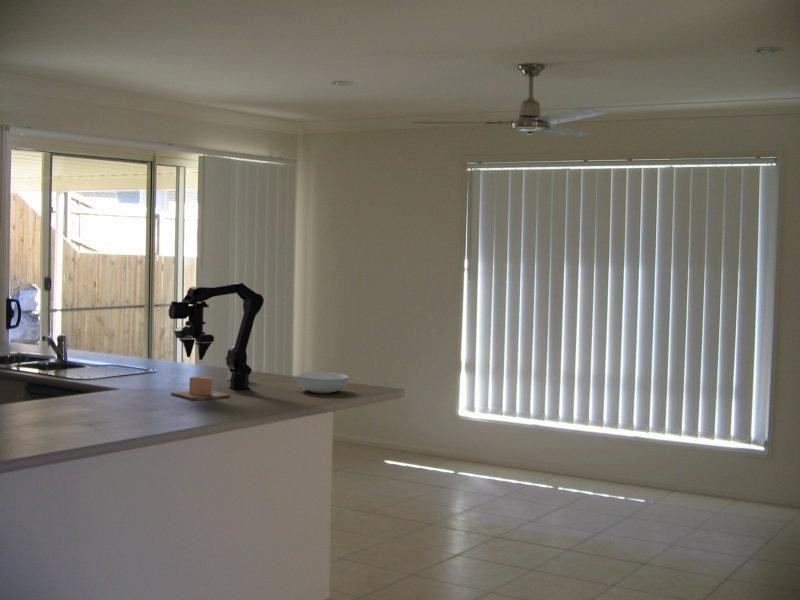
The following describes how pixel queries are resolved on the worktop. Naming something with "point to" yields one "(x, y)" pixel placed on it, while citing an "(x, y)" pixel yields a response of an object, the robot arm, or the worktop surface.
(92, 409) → the worktop surface
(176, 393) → the walnut board
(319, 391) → the serving bowl
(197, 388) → the terracotta cube
